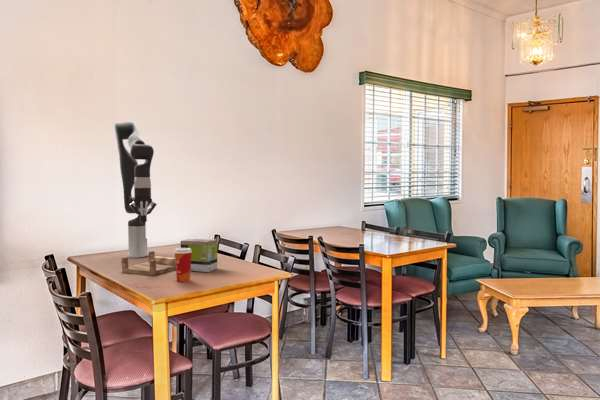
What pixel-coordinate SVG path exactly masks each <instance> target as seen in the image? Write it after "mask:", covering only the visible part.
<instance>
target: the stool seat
mask: <svg viewBox="0 0 600 400" xmlns="http://www.w3.org/2000/svg"><path fill="white" fill-rule="evenodd" d="M151 255H155V256H156V254H155V251H154V250H151V251H149V250H148V261H145V262H141V263H137V264H134V265H133V264H132V265H130V266H129V256H122V257H121V273H125V274H126V273H127V274H133V275H142V276H149V277H150V276H151V277H155V276H159V275H162V274H166V273H169V272H172V271H173V272H174V271H176V265H167V264H157V263H156V260H151Z"/></svg>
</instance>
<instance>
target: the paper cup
mask: <svg viewBox="0 0 600 400" xmlns="http://www.w3.org/2000/svg"><path fill="white" fill-rule="evenodd" d="M191 252H192V251H191V248H187V249H186V248H181V247H179V248H175V249H174V252H173V253H174V258H175V262H176V270H175V274H176V275H175V276H176V282H178V283H187V282H190V281H191V272H192V271H191Z"/></svg>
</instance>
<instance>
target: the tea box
mask: <svg viewBox="0 0 600 400" xmlns="http://www.w3.org/2000/svg"><path fill="white" fill-rule="evenodd" d="M180 248H186V249H187V248H191V251H192V252H191V271H190V272H203V273H210V272H212V271H215V270H217V269H218V239H215V238H194V237H193V238H192V237H191V238H187V239H182V240H180Z"/></svg>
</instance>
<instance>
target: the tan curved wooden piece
mask: <svg viewBox="0 0 600 400" xmlns="http://www.w3.org/2000/svg"><path fill="white" fill-rule="evenodd" d="M151 260H156V263H157V264H167V265H176V262H175V257H167V256H160V255H159V256H157V255H156V254H155V255H151Z"/></svg>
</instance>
